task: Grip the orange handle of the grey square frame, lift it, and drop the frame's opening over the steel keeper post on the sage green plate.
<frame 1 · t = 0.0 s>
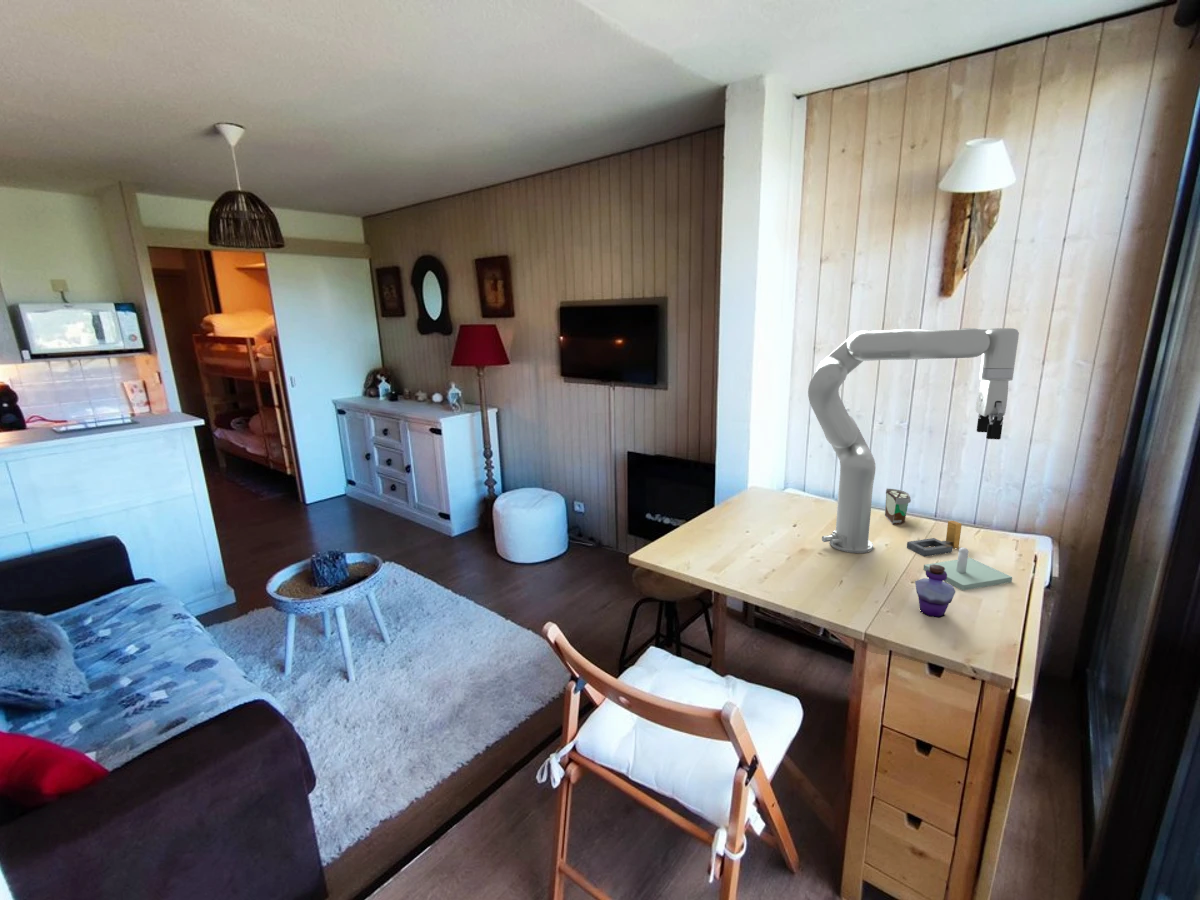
hand: (988, 435, 154), 37 cm above the table, tool pointing down, fingers open, 9 cm apart
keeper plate: (966, 575, 152), on the table
food container: (898, 520, 194), on the table
grey square frame: (929, 550, 169), on the table
potion bottle: (931, 612, 134), on the table
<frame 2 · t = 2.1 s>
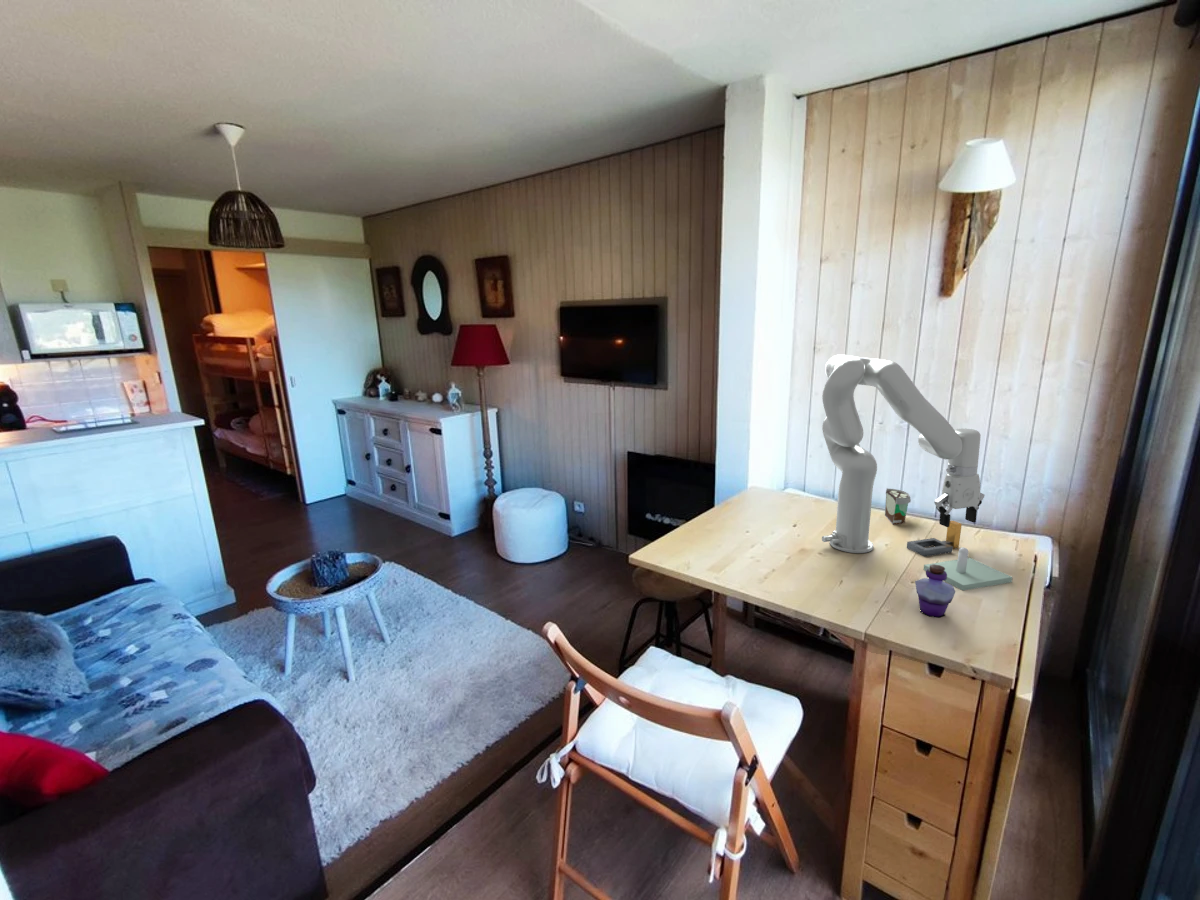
hand: (957, 523, 169), 8 cm above the table, tool pointing down, fingers open, 9 cm apart
nothing on the table moved.
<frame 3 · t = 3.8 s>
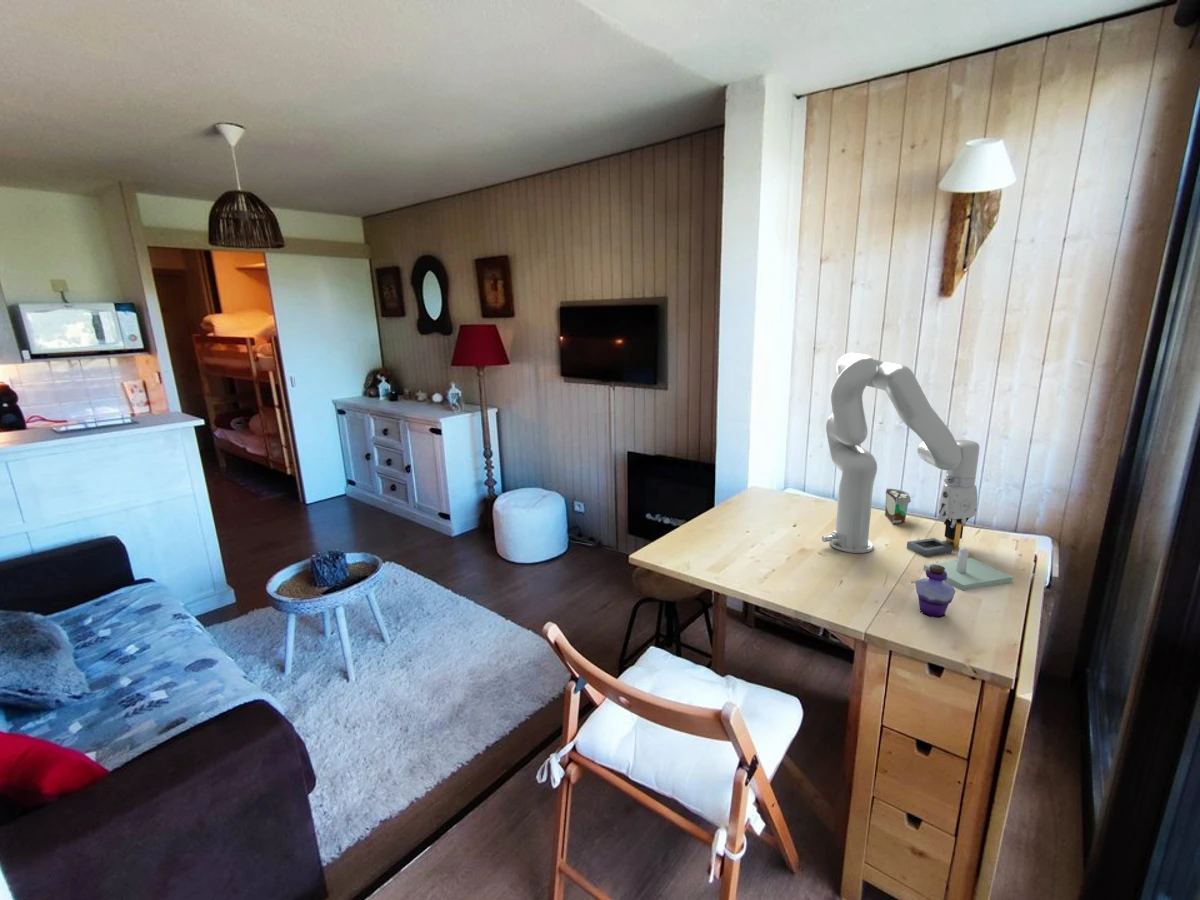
hand: (953, 537, 170), 3 cm above the table, tool pointing down, fingers closed on grey square frame
grey square frame: (929, 550, 169), on the table, touching gripper
everything else where it was.
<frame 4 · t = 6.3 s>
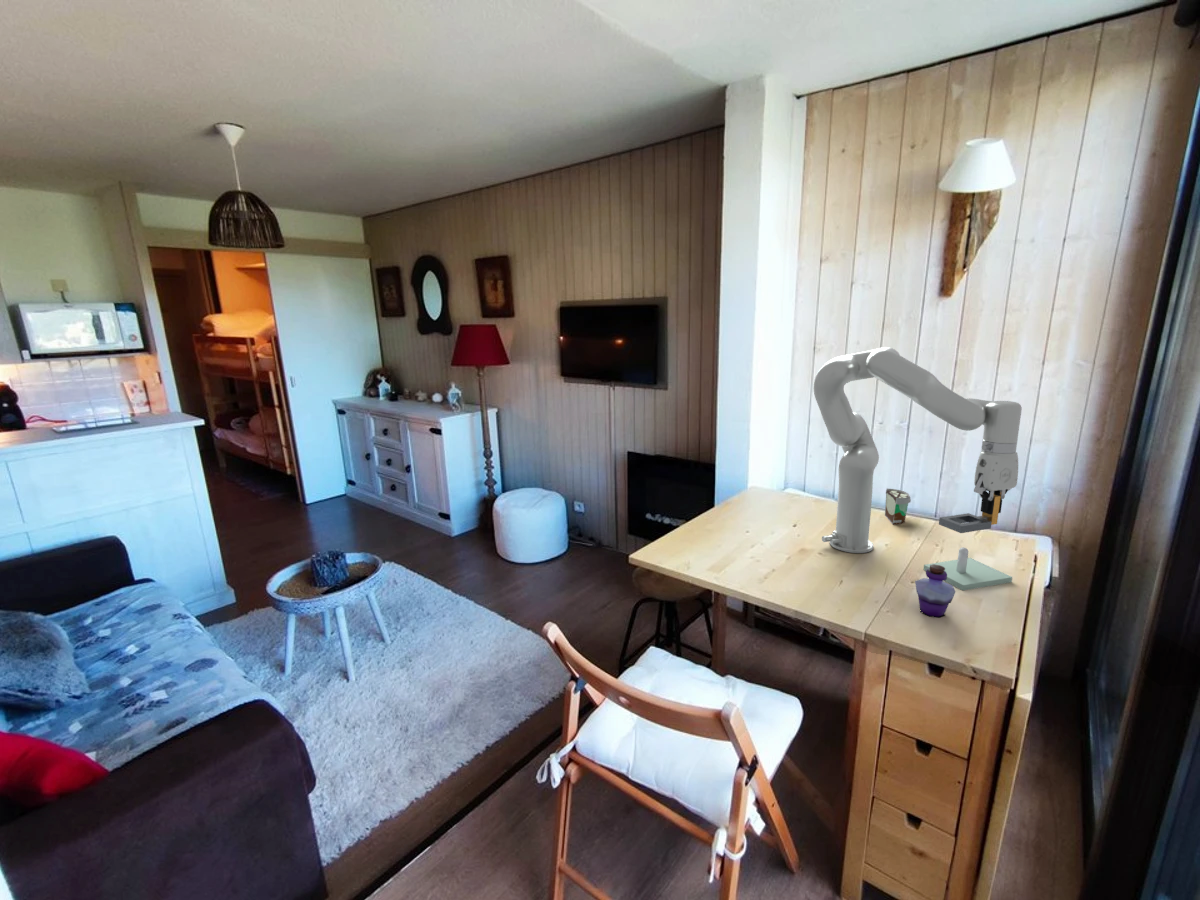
hand: (990, 511, 151), 17 cm above the table, tool pointing down, fingers closed on grey square frame
grey square frame: (964, 526, 150), point 14 cm above the table, touching gripper
everything else where it was.
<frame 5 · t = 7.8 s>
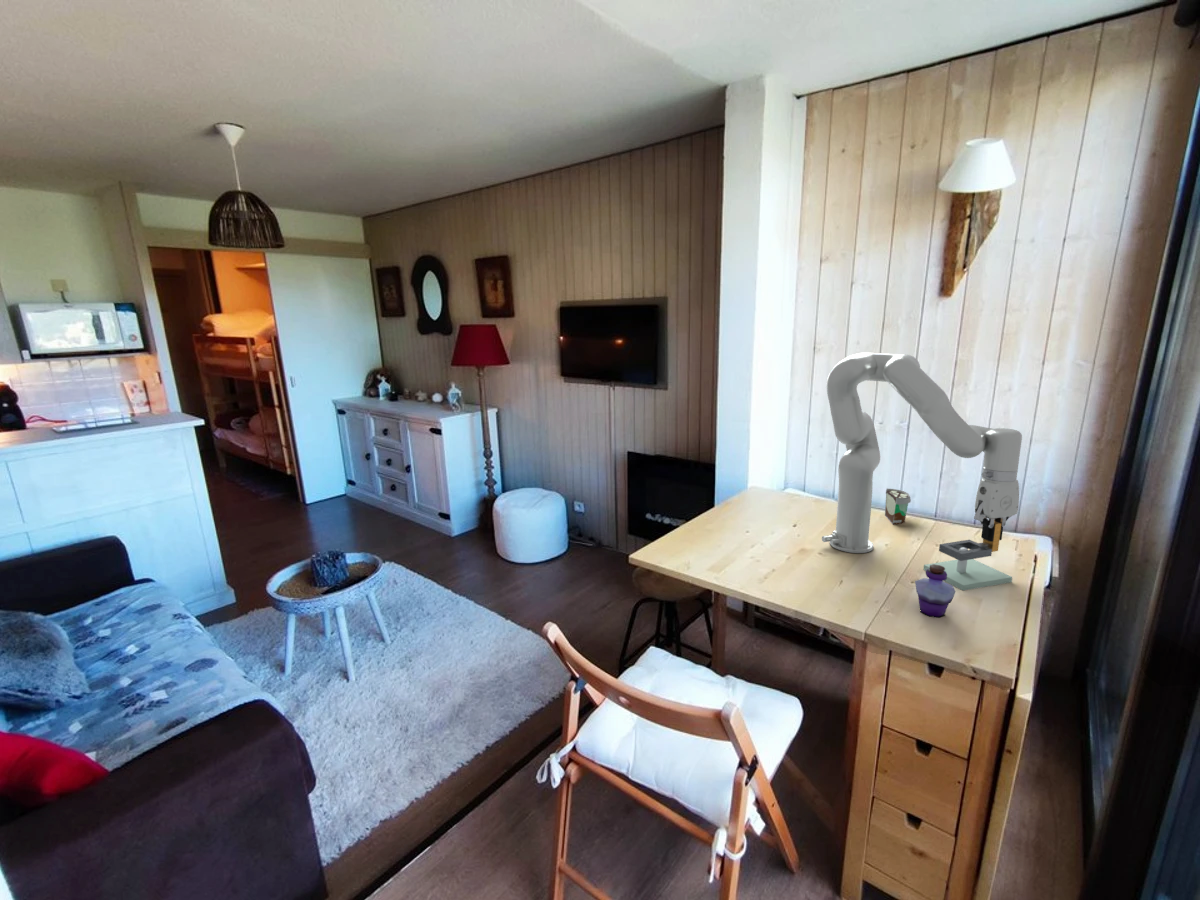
hand: (991, 538, 151), 10 cm above the table, tool pointing down, fingers closed on grey square frame
grey square frame: (964, 553, 150), point 7 cm above the table, touching gripper
everything else where it was.
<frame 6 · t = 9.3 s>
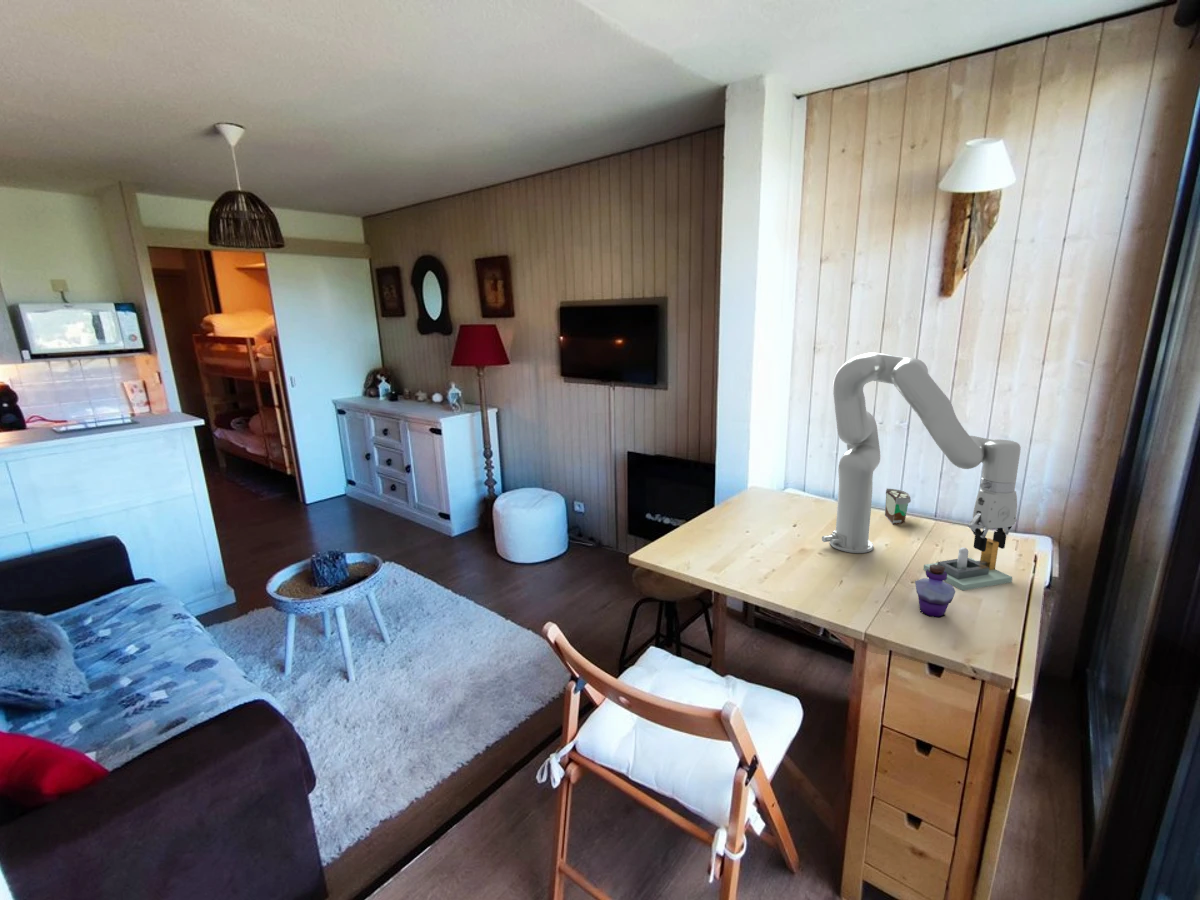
hand: (988, 547, 152), 8 cm above the table, tool pointing down, fingers open, 5 cm apart
grey square frame: (962, 571, 151), point 1 cm above the table, touching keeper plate
everything else where it was.
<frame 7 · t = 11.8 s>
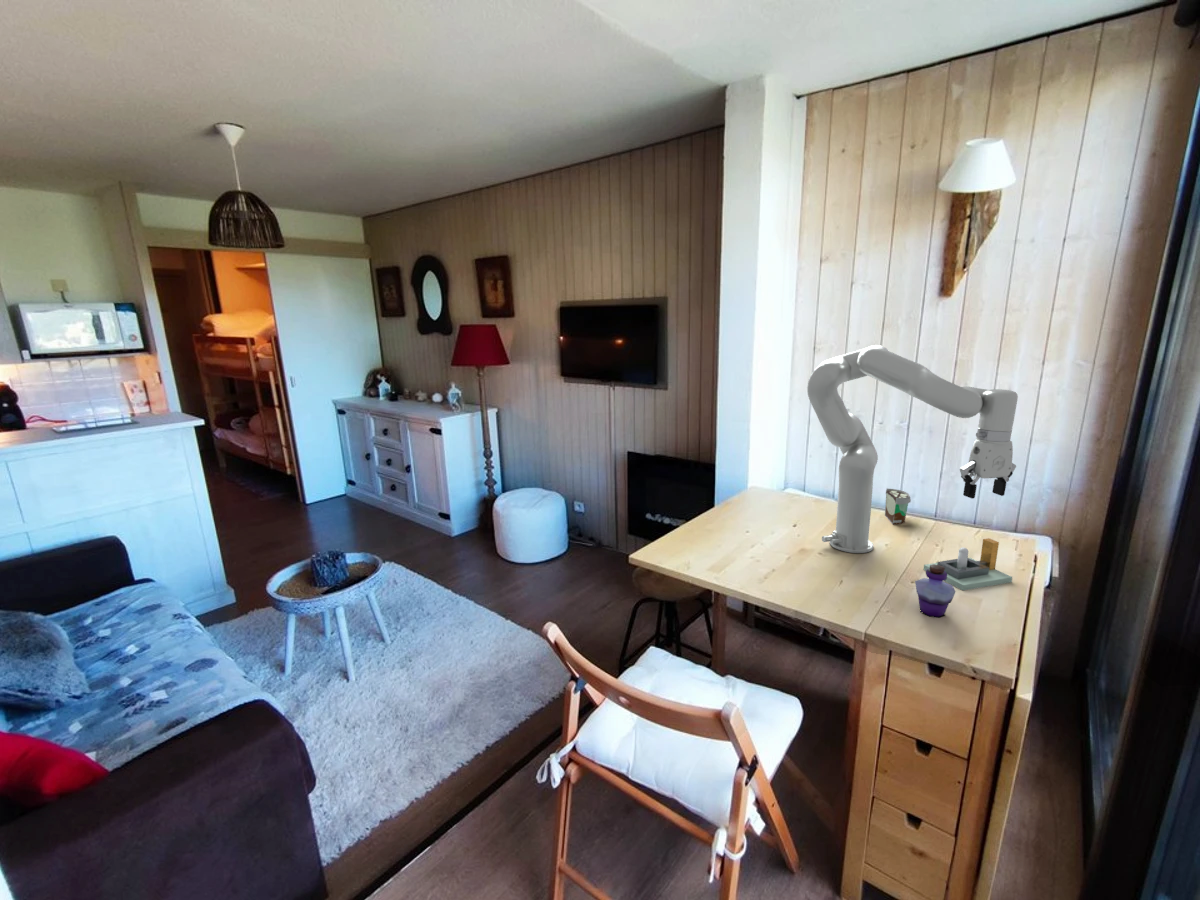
hand: (983, 495, 152), 21 cm above the table, tool pointing down, fingers open, 9 cm apart
nothing on the table moved.
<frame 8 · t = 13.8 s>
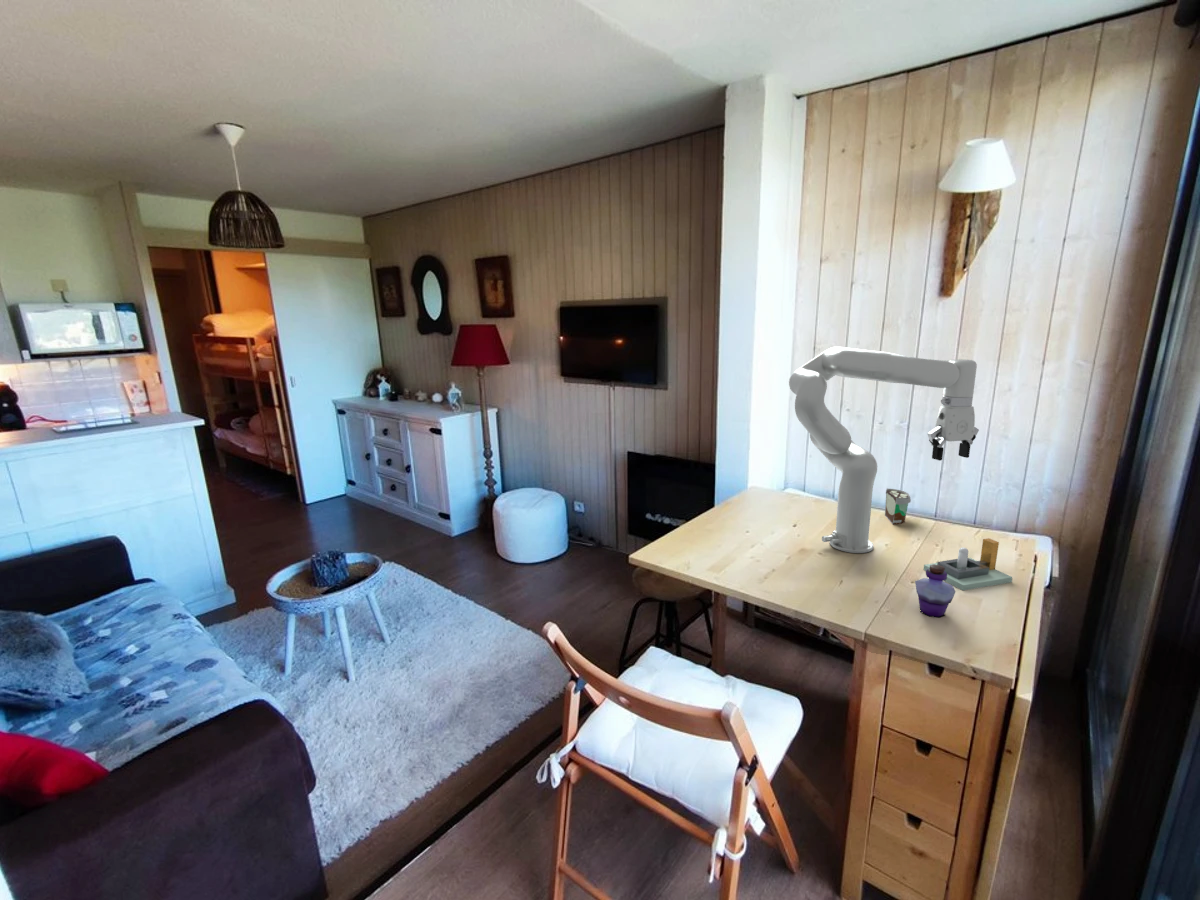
hand: (950, 458, 166), 28 cm above the table, tool pointing down, fingers open, 9 cm apart
nothing on the table moved.
at the end: grey square frame 0.4 cm from the target spot on the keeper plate, point 1.5 cm above the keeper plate's base; the gripper is holding nothing; grey square frame tilted 0° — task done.
